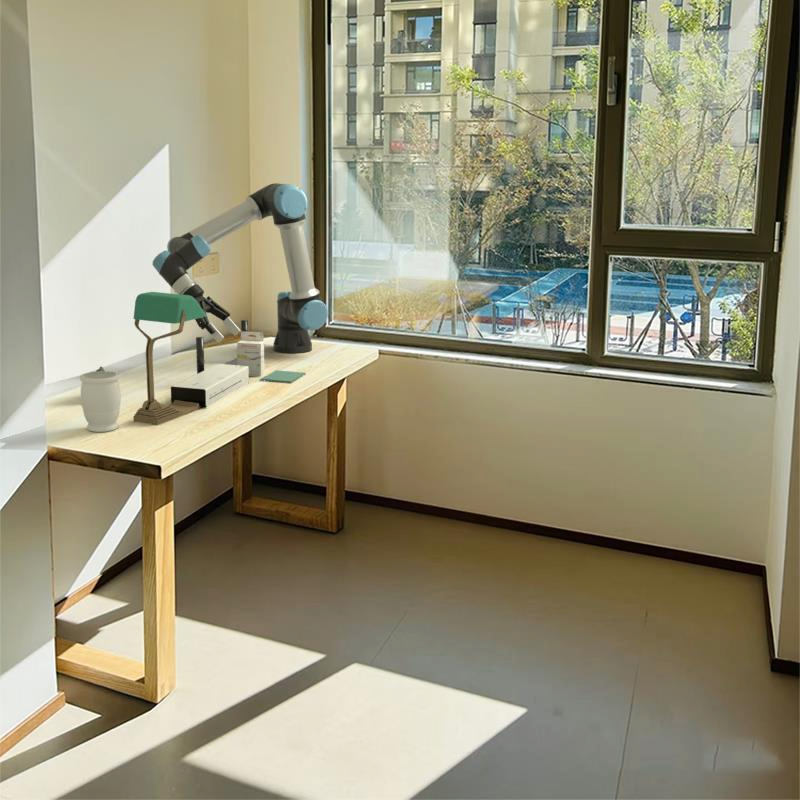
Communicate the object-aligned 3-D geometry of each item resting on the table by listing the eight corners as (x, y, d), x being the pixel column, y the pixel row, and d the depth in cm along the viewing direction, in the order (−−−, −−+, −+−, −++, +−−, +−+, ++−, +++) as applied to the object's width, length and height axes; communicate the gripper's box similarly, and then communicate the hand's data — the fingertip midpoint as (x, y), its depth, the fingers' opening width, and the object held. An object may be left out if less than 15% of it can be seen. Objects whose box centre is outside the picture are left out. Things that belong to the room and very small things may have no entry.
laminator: (205, 409, 276) (205, 389, 275) (167, 406, 279) (167, 386, 277) (249, 384, 308) (248, 366, 307) (214, 381, 311) (214, 363, 309)
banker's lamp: (123, 419, 263) (116, 296, 254) (168, 403, 281) (164, 288, 272) (168, 426, 257) (163, 301, 248) (212, 409, 275) (209, 292, 266)
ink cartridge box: (236, 375, 318) (236, 333, 315) (240, 372, 323) (239, 331, 320) (261, 376, 318) (260, 334, 314) (264, 373, 322) (264, 332, 319)
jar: (89, 422, 259) (86, 370, 255) (126, 423, 259) (124, 371, 255) (77, 433, 248) (73, 379, 245) (116, 434, 249) (113, 379, 245)
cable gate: (238, 360, 341) (238, 319, 338) (254, 362, 340) (253, 320, 336) (191, 383, 305) (189, 337, 302) (207, 385, 304) (206, 338, 300)
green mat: (276, 371, 325) (276, 370, 325) (305, 374, 323) (305, 372, 323) (260, 380, 312) (260, 378, 312) (291, 383, 310) (291, 381, 310)
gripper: (198, 292, 331) (237, 337, 331) (164, 302, 308) (206, 350, 308) (211, 279, 328) (251, 323, 329) (178, 287, 305) (220, 335, 305)
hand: (229, 336), depth 318 cm, fingers open, 13 cm apart
